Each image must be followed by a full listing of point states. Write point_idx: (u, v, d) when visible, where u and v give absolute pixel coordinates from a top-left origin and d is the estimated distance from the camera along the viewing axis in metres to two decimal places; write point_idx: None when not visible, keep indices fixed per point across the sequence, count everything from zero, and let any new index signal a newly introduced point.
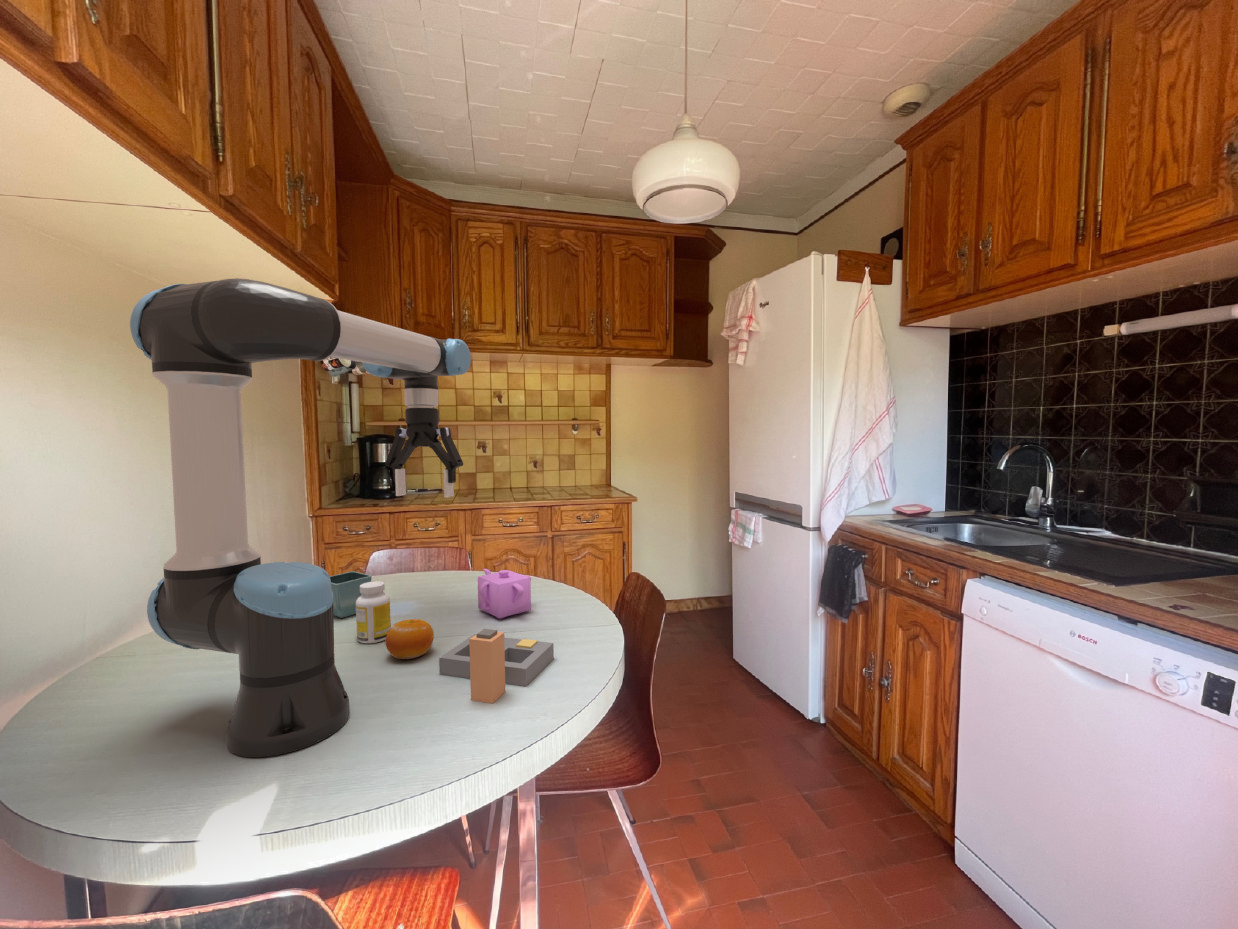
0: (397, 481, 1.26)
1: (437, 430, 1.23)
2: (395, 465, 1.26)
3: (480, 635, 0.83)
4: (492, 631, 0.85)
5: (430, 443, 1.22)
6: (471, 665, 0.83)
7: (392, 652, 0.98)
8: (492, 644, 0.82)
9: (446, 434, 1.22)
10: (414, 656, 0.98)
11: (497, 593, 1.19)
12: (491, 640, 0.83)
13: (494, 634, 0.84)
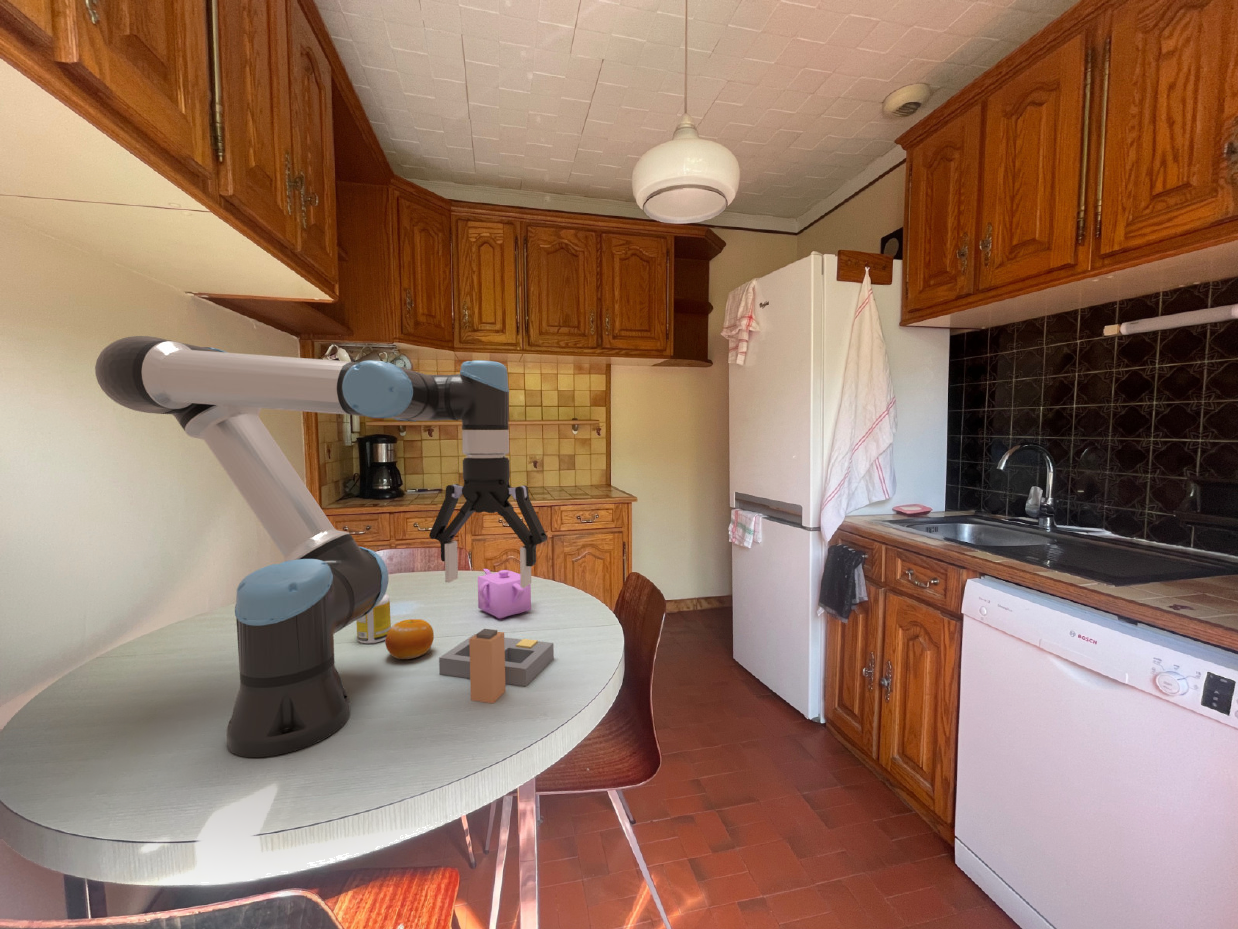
0: (448, 561, 0.88)
1: (510, 490, 0.85)
2: (445, 538, 0.88)
3: (480, 635, 0.83)
4: (492, 631, 0.85)
5: (500, 509, 0.84)
6: (471, 665, 0.83)
7: (392, 652, 0.98)
8: (492, 644, 0.82)
9: (524, 496, 0.85)
10: (414, 656, 0.98)
11: (497, 593, 1.19)
12: (491, 640, 0.83)
13: (494, 634, 0.84)
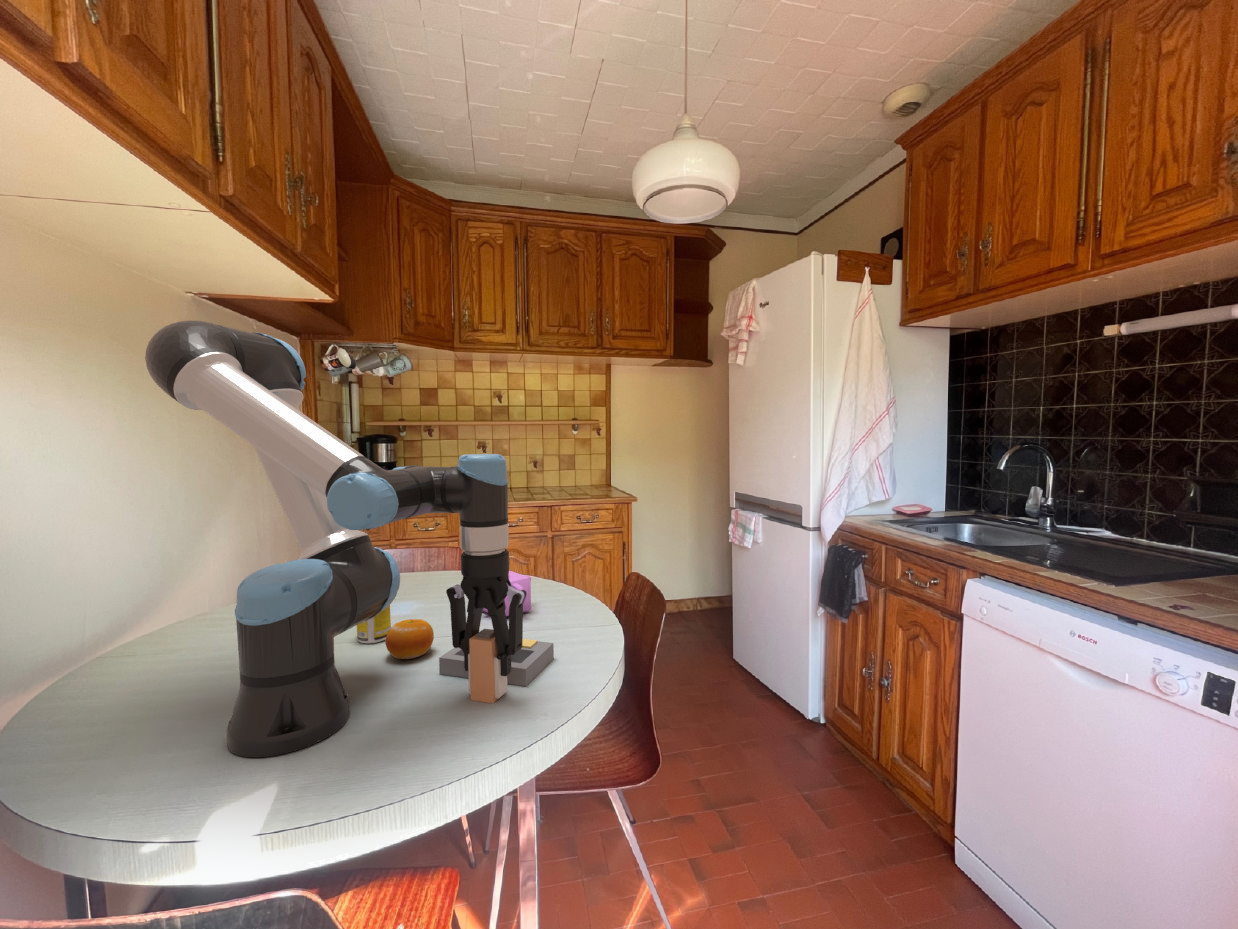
0: None
1: (509, 590, 0.82)
2: (467, 646, 0.84)
3: (480, 635, 0.83)
4: (492, 631, 0.85)
5: (492, 611, 0.82)
6: (471, 665, 0.83)
7: (392, 652, 0.98)
8: (492, 644, 0.82)
9: (518, 604, 0.82)
10: (414, 656, 0.98)
11: None
12: (491, 640, 0.83)
13: None
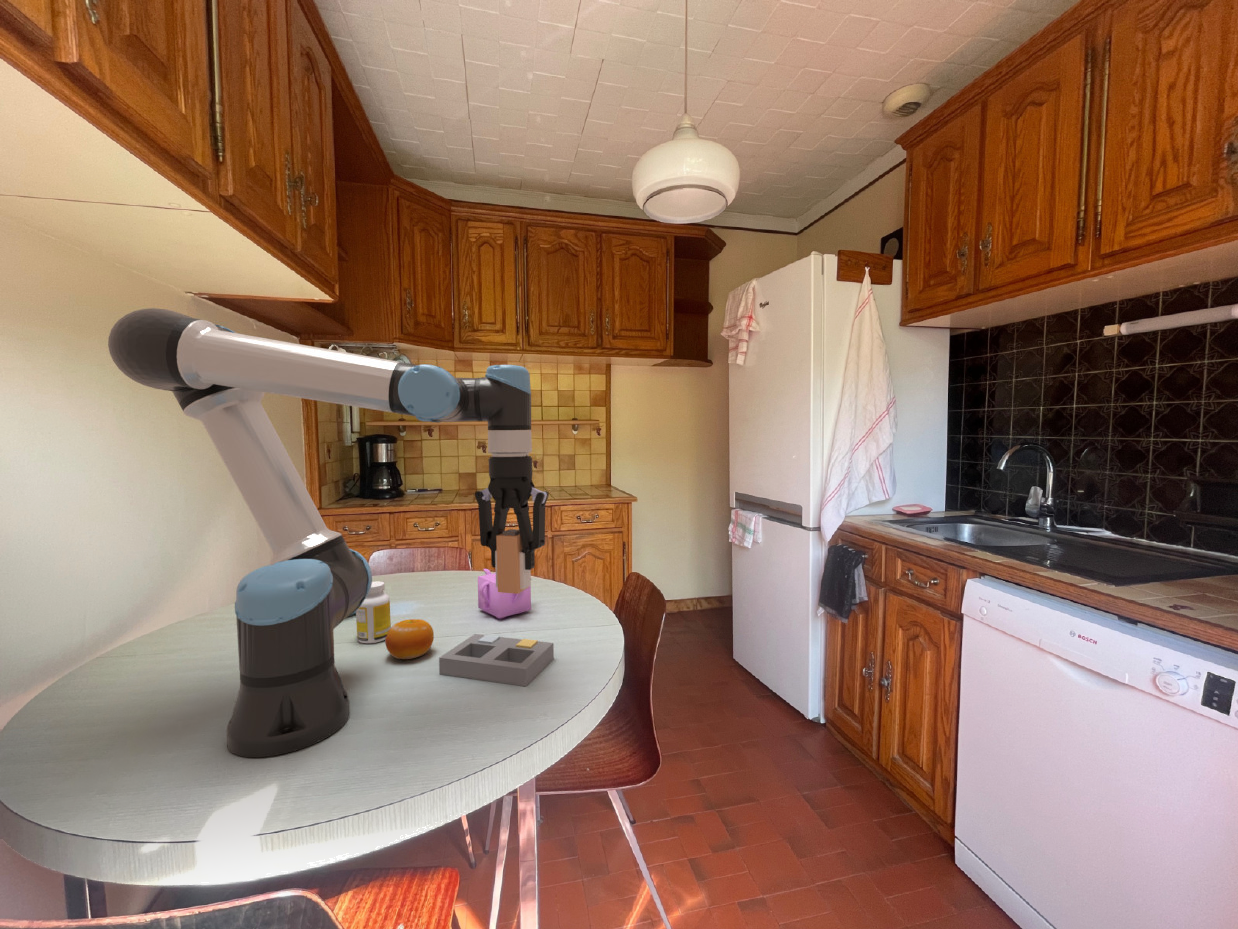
0: None
1: (532, 490, 0.90)
2: (494, 544, 0.92)
3: (506, 532, 0.91)
4: (517, 530, 0.92)
5: (517, 509, 0.90)
6: (498, 560, 0.91)
7: (392, 652, 0.98)
8: (518, 539, 0.90)
9: (542, 502, 0.90)
10: (414, 656, 0.98)
11: (497, 593, 1.19)
12: (516, 536, 0.90)
13: (519, 532, 0.92)
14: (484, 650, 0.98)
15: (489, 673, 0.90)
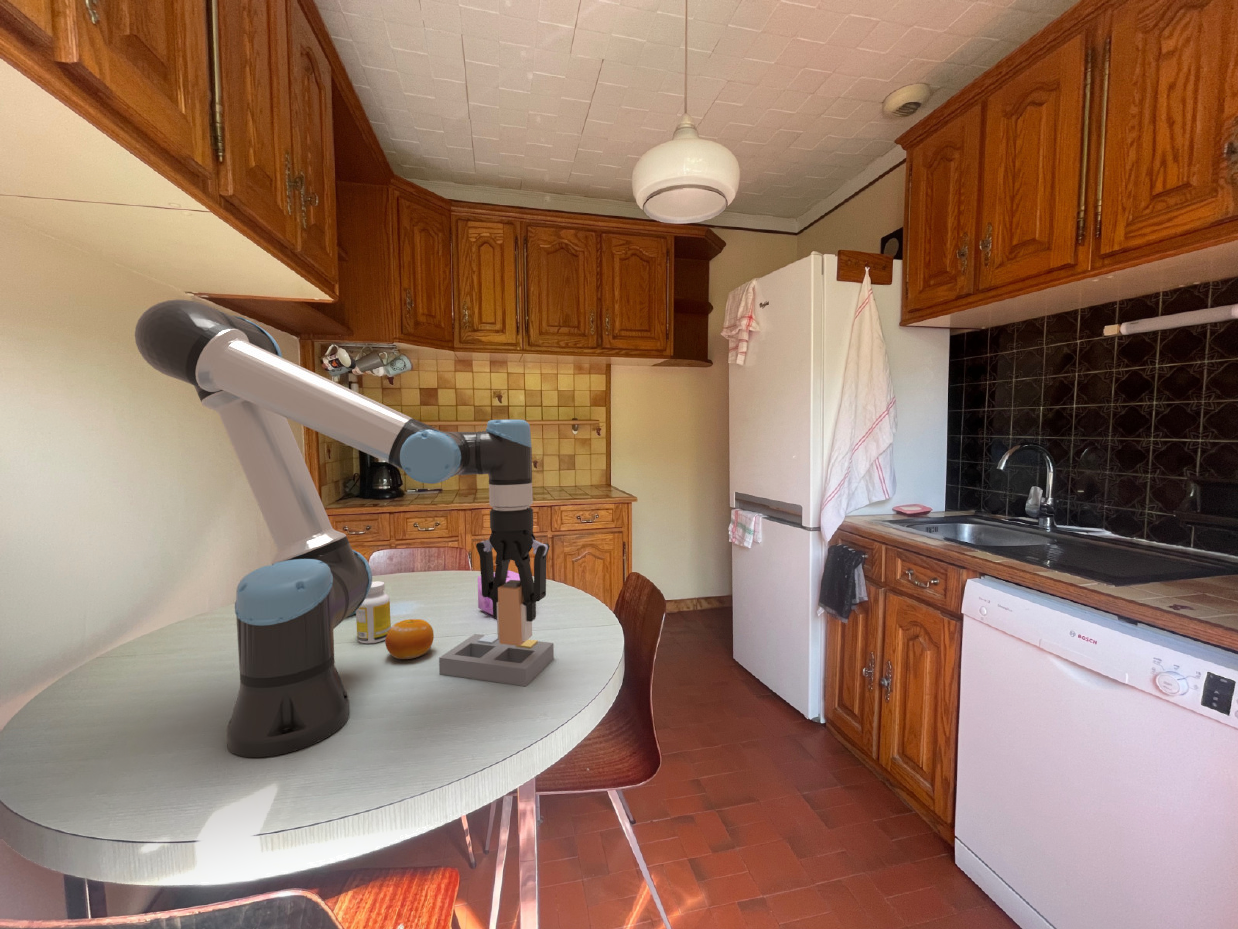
0: None
1: (533, 543, 0.91)
2: (496, 595, 0.93)
3: (507, 584, 0.92)
4: (518, 581, 0.93)
5: (518, 561, 0.90)
6: (499, 611, 0.92)
7: (392, 652, 0.98)
8: (519, 592, 0.91)
9: (543, 555, 0.90)
10: (414, 656, 0.98)
11: None
12: (518, 588, 0.91)
13: (520, 584, 0.93)
14: (484, 650, 0.98)
15: (489, 673, 0.90)
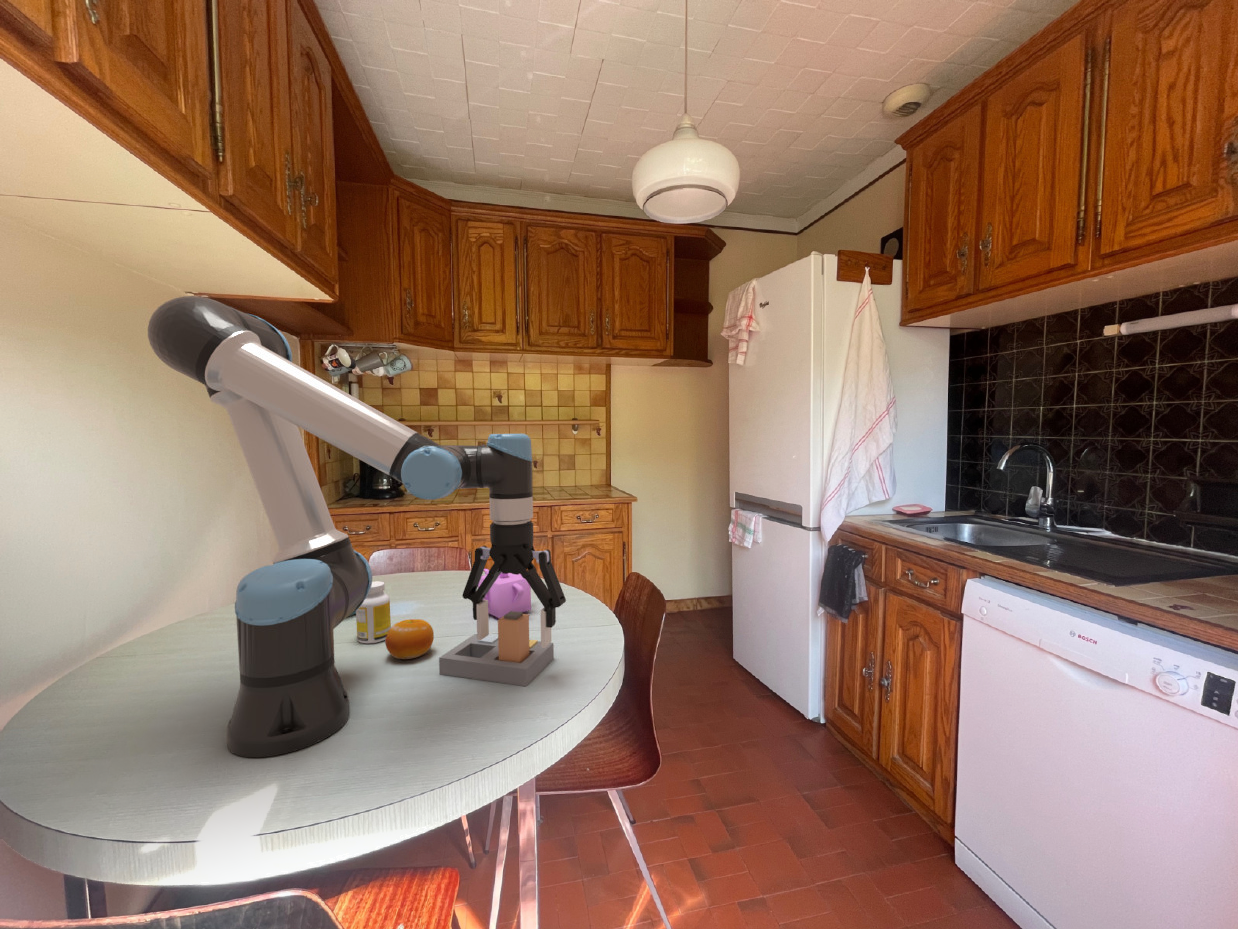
0: (479, 620, 0.94)
1: (534, 554, 0.91)
2: (476, 598, 0.94)
3: (507, 616, 0.92)
4: (518, 613, 0.93)
5: (524, 572, 0.90)
6: (499, 643, 0.92)
7: (392, 652, 0.98)
8: (519, 624, 0.91)
9: (546, 561, 0.90)
10: (414, 656, 0.98)
11: (497, 593, 1.19)
12: (518, 621, 0.91)
13: (520, 615, 0.93)
14: (484, 650, 0.98)
15: (489, 673, 0.90)
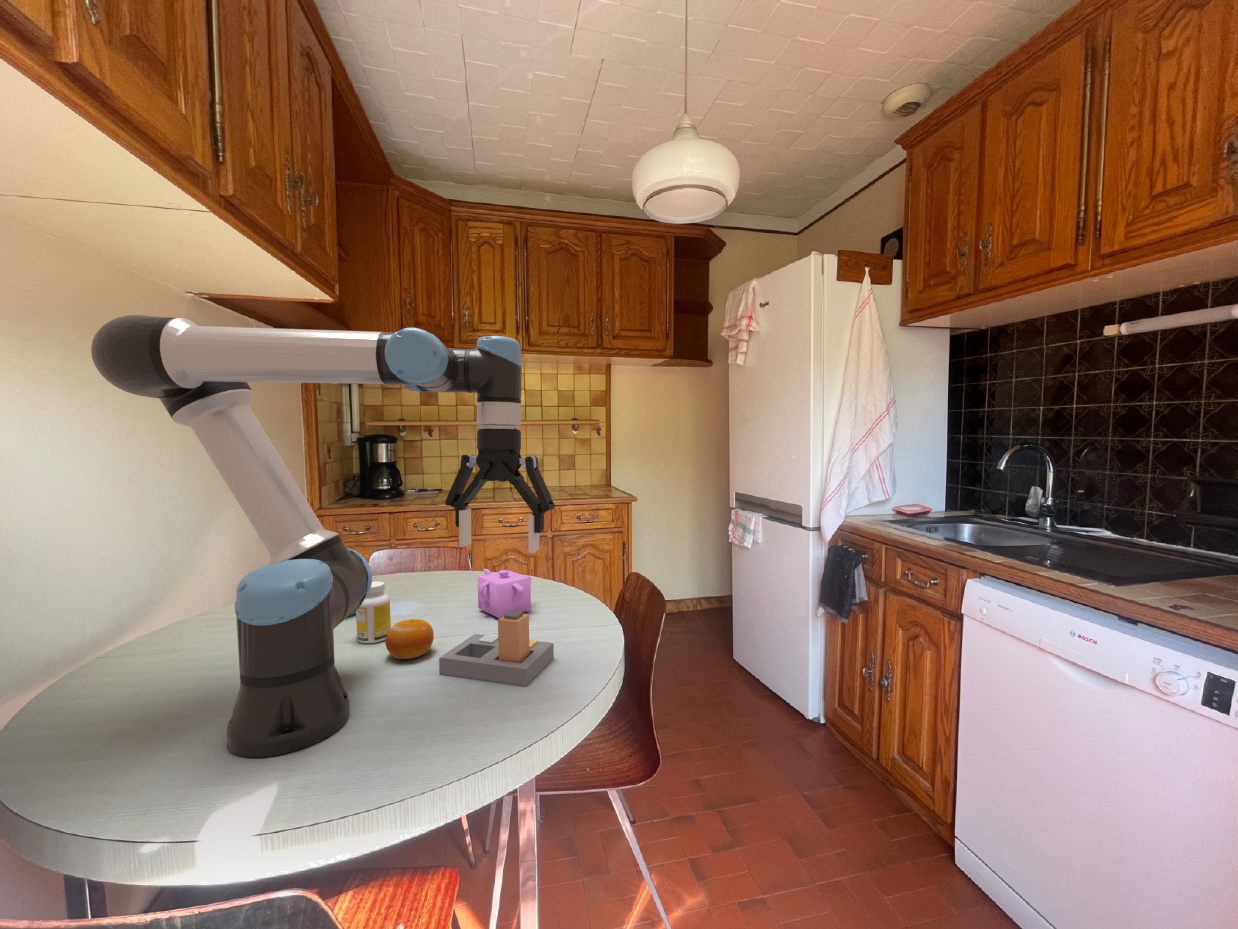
0: (461, 527, 0.93)
1: (520, 460, 0.90)
2: (459, 505, 0.93)
3: (507, 616, 0.92)
4: (518, 613, 0.93)
5: (511, 477, 0.89)
6: (499, 643, 0.92)
7: (392, 652, 0.98)
8: (519, 624, 0.91)
9: (533, 466, 0.89)
10: (414, 656, 0.98)
11: (497, 593, 1.19)
12: (518, 621, 0.91)
13: (520, 616, 0.93)
14: (484, 650, 0.98)
15: (489, 673, 0.90)
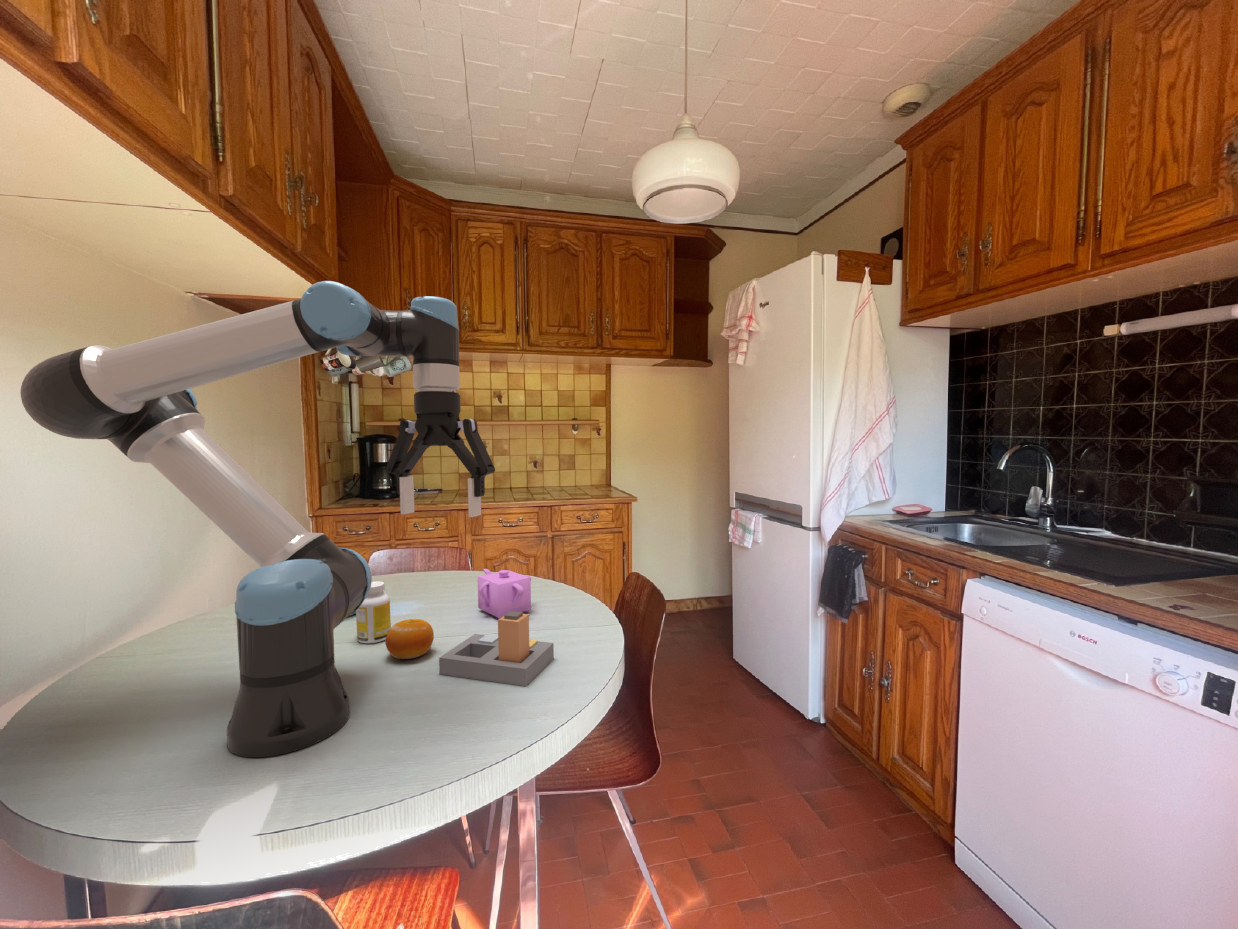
0: (402, 494, 0.91)
1: (459, 423, 0.88)
2: (400, 471, 0.91)
3: (507, 616, 0.92)
4: (518, 613, 0.93)
5: (449, 441, 0.87)
6: (499, 643, 0.92)
7: (392, 652, 0.98)
8: (519, 624, 0.91)
9: (471, 428, 0.87)
10: (414, 656, 0.98)
11: (497, 593, 1.19)
12: (518, 621, 0.91)
13: (520, 615, 0.93)
14: (484, 650, 0.98)
15: (489, 673, 0.90)
